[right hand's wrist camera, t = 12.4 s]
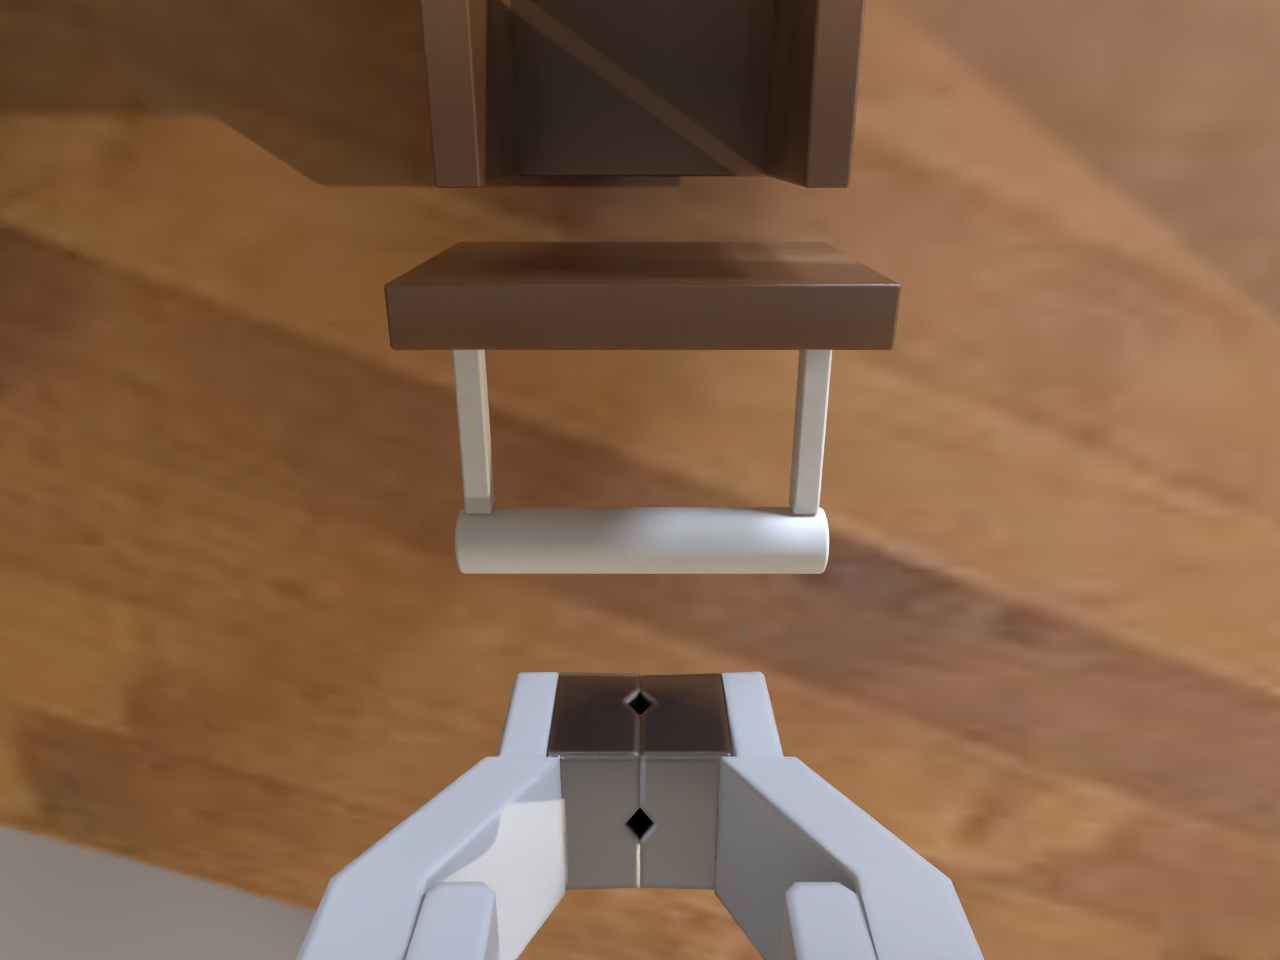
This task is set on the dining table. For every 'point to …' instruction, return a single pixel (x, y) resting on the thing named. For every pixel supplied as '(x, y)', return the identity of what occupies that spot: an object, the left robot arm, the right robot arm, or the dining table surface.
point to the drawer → (642, 243)
